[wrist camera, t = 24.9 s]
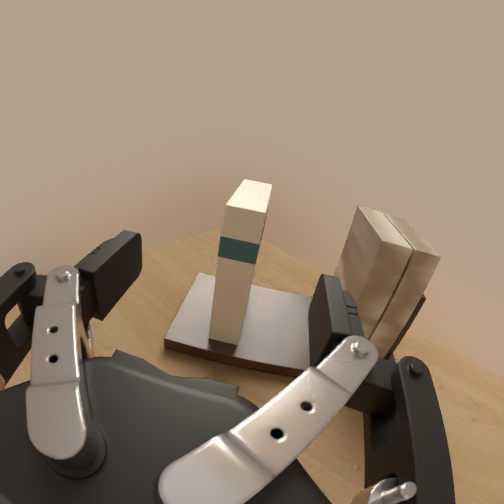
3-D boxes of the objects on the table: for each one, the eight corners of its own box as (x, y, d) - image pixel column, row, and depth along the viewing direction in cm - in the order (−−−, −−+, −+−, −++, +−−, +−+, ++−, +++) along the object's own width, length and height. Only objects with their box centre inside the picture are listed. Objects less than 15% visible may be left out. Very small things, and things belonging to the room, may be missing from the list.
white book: (250, 292, 30) (273, 184, 24) (237, 345, 23) (266, 213, 17) (226, 287, 30) (244, 178, 24) (208, 338, 23) (225, 204, 17)
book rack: (373, 316, 31) (417, 220, 25) (394, 386, 22) (469, 272, 15) (198, 280, 32) (210, 168, 26) (164, 347, 22) (163, 200, 16)
